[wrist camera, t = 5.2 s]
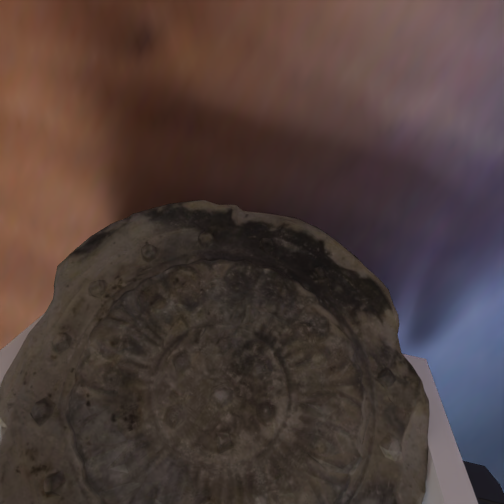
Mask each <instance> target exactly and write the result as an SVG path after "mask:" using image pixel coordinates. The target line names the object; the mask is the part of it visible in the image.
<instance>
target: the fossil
mask: <svg viewBox="0 0 504 504" xmlns="http://www.w3.org/2000/svg"><path fill="white" fill-rule="evenodd" d="M398 329H399V318H398V314H397V311H396V309H395V307H394V305H393V302H392V299H391V296H390V293H389V290H388V289H387V288H386V286H385V285H384V284H383V283H382V281H381V280H380V279H379V278H377V277H376V276H375V275H374V274H373V273H372V272H371V271H370V270H368V269H367V268H366V267H365V266H364V265H363V264H362V263H361V261H360V260H359V259H358V258H357V257H356V256H354V255H353V254H352V253H351V252H349V251H348V250H347V249H346V248H344V247H343V246H342V245H341V244H339V243H338V242H337V241H336V240H334V239H333V238H332V237H330V236H329V235H328V234H326V233H325V232H323V231H322V230H320V229H319V228H317V227H315V226H313V225H310V224H308V223H306V222H304V221H302V220H299V219H297V218H293V217H287V216H281V215H275V214H268V213H258V212H248V211H243V210H241V209H240V208H239V207H238V206H236V205H218V204H215V203H212V202H209V201H206V200H196V201H188V202H181V203H173V204H167V205H163V206H160V207H156V208H152V209H149V210H145V211H141V212H138V213H134V214H132V215H131V216H129V217H128V218H125V219H123V220H120V221H117V222H115V223H112V224H110V225H109V226H107V227H105V228H104V229H102V230H100V231H99V232H97V233H96V234H94V235H92V236H91V237H90V238H88V239H87V240H86V241H85V242H84V243H82V244H81V245H80V246H79V247H78V248H76V249H75V250H74V251H73V252H72V253H71V254H70V255H69V256H68V257H67V258H66V259H65V260H64V261H62V262H61V263H60V264H59V265H58V266H57V271H56V277H55V282H54V296H53V300H52V302H51V304H50V305H49V307H48V309H47V311H46V312H45V314H44V315H43V317H42V318H41V319H40V320H39V321H38V323H37V324H36V325H35V326H34V327H33V328H32V330H31V331H30V332H29V333H28V335H27V337H26V339H25V341H24V342H23V344H22V346H21V348H20V350H19V352H18V353H17V355H16V357H15V359H14V360H13V362H12V364H11V365H10V367H9V369H8V370H7V372H6V374H5V375H4V378H3V380H2V383H1V386H0V428H1V435H0V504H422V501H423V498H424V495H425V492H426V487H425V481H426V476H427V462H428V428H429V417H430V411H429V399H428V397H427V395H426V393H425V391H424V387H423V382H422V380H421V379H420V377H419V376H418V374H417V372H416V371H415V369H414V368H413V366H412V365H411V364H410V362H409V361H408V360H407V359H406V358H405V356H404V355H403V354H402V353H401V349H400V344H399V339H398V335H397V333H398Z"/></svg>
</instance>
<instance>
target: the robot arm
mask: <svg viewBox="0 0 504 504" xmlns="http://www.w3.org/2000/svg"><path fill="white" fill-rule="evenodd" d="M44 314H45V313H44ZM44 314H43V315H44ZM43 315H42V316H41V317H39V318H38V319H37V320H36V321H35V322H34V323H32V324H31V325H30V326H29V327H28V328H26V329H25V330H24V331H23V332H22V333H20V334H19V335H18V336H17V337H16V338H14V339H13V340H12V341H11V342H10V343H9V344H7V345H6V346H5V347H4V348H3V349H1V350H0V386H1V383H2V380H3V378H4V375H5V374H6V372H7V370H8V369H9V367H10V365H11V364H12V362H13V360H14V359H15V357H16V355H17V353H18V352H19V350H20V348H21V346H22V344H23V342H24V341H25V339H26V337H27V335H28V333H29V332H30V331H31V330H32V328H33V327H34V326H35V325H36V324H37V323H38V321H39V320H40V319H41V318H42V317H43ZM403 355H404V356H405V358H406V359H407V360H408V361H409V362H410V364H411V365H412V366H413V368H414V369H415V371H416V372H417V374H418V376H419V377H420V379H421V380H422V382H423V387H424V391H425V393H426V395H427V397H428V399H429V411H430V417H429V428H428V462H427V476H426V481H425V487H426V492H425V495H424V498H423V501H422V504H504V493H503V491H502V488H501V486H500V484H499V483H498V482H497V481H496V479H495V478H494V477H493V476H492V475H491V473H490V472H489V471H488V470H487V468H486V467H485V466H482V465H478V464H474V463H469V462H465V461H463V460H462V457H461V455H460V452H459V449H458V446H457V443H456V441H455V438H454V435H453V432H452V430H451V427H450V424H449V421H448V418H447V416H446V413H445V410H444V407H443V405H442V402H441V399H440V396H439V394H438V391H437V388H436V385H435V382H434V380H433V377H432V374H431V371H430V369H429V366H428V363H427V360H426V359H424V358H419V357H415V356H410V355H406V354H403ZM0 435H1V428H0Z"/></svg>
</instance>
